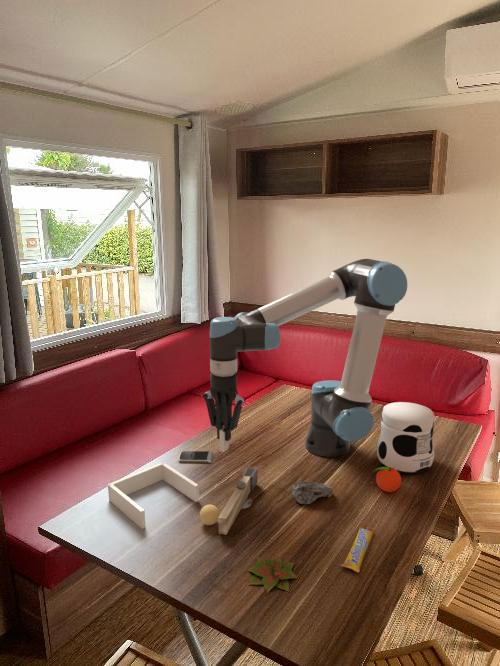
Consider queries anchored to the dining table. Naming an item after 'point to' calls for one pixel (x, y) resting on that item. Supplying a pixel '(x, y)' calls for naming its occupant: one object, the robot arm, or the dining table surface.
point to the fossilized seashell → (310, 491)
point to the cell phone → (196, 457)
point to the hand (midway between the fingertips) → (224, 449)
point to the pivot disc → (247, 503)
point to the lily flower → (275, 566)
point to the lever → (237, 499)
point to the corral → (145, 479)
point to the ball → (209, 514)
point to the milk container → (406, 437)
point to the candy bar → (358, 549)
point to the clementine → (388, 479)
